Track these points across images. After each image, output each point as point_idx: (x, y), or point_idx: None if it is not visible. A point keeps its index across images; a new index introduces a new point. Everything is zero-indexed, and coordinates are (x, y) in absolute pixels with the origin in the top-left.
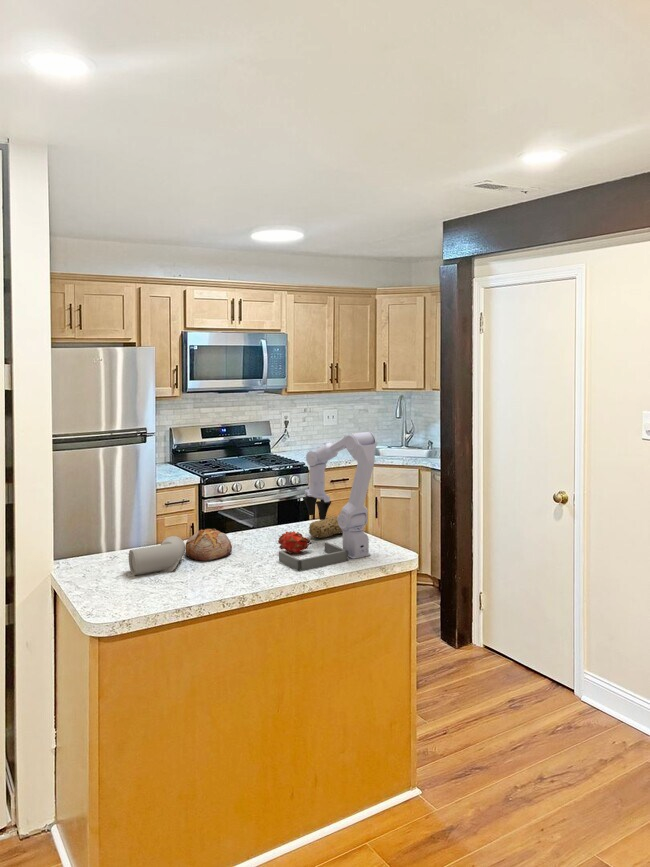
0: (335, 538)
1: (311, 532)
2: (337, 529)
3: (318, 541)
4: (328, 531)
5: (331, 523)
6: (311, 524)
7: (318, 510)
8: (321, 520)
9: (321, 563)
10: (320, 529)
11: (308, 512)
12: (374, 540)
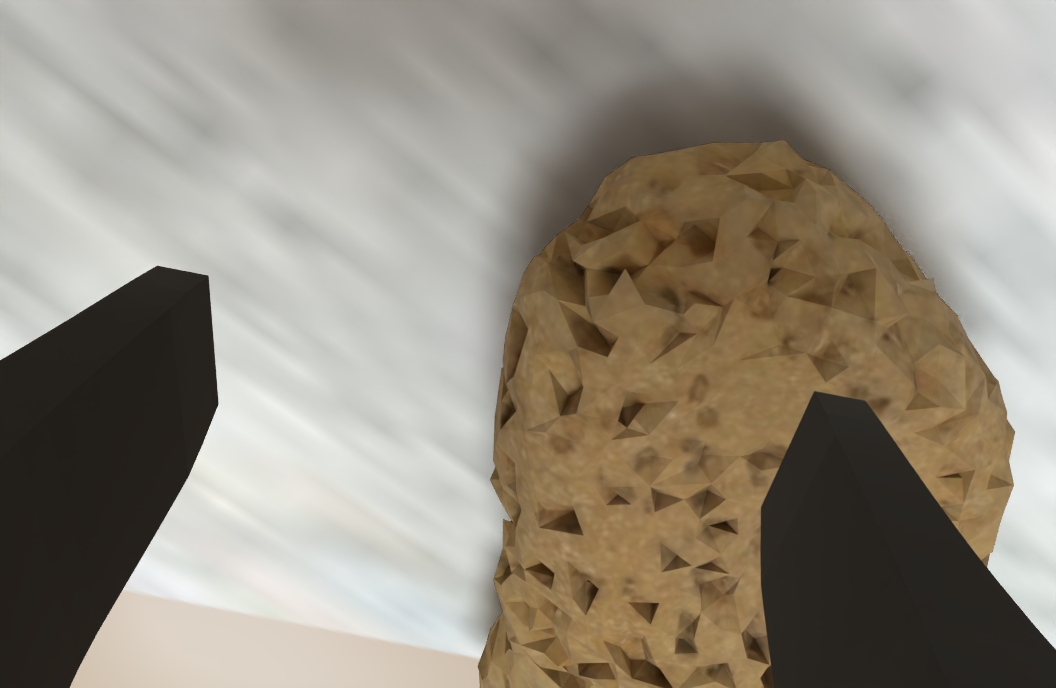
0: None
1: (745, 168)
2: (507, 526)
3: (562, 118)
4: (503, 378)
5: (549, 558)
6: (875, 345)
7: (2, 452)
8: None
9: None
10: (570, 298)
11: (877, 448)
12: None
